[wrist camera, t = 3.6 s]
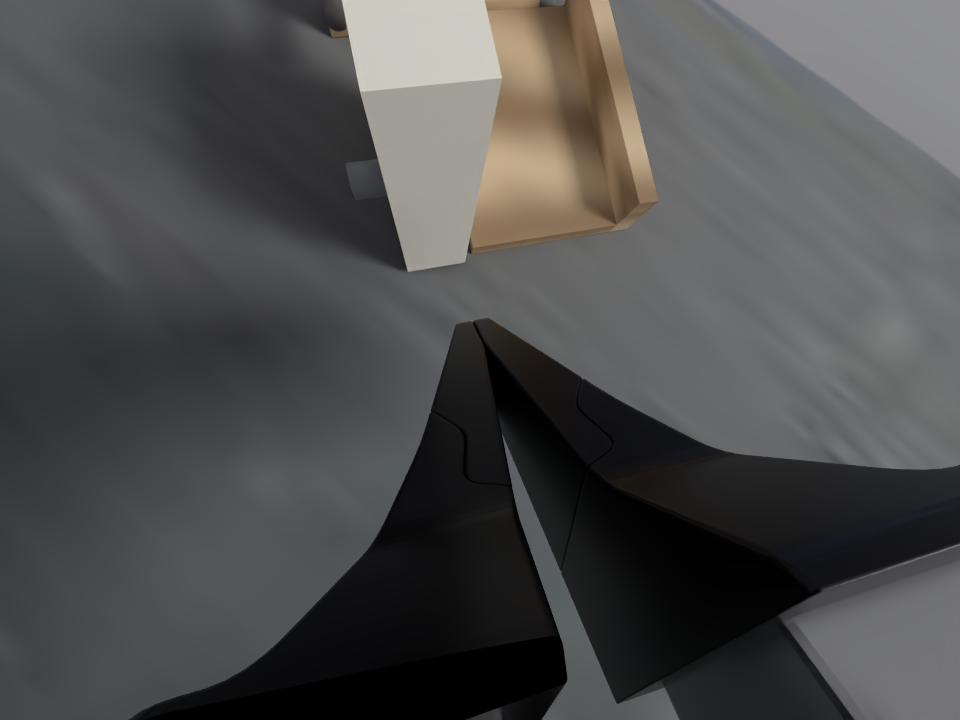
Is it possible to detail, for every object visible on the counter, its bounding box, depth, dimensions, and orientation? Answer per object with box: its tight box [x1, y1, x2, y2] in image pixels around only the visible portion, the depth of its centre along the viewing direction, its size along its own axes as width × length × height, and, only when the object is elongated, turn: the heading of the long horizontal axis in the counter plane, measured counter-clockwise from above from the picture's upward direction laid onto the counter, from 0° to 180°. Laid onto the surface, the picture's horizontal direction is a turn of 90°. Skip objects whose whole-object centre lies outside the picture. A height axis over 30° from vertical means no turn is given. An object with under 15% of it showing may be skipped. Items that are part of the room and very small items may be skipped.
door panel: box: [342, 0, 502, 272], centre depth 13 cm, size 8×4×11 cm, turn 12°
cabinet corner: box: [321, 0, 658, 254], centre depth 14 cm, size 15×14×12 cm
